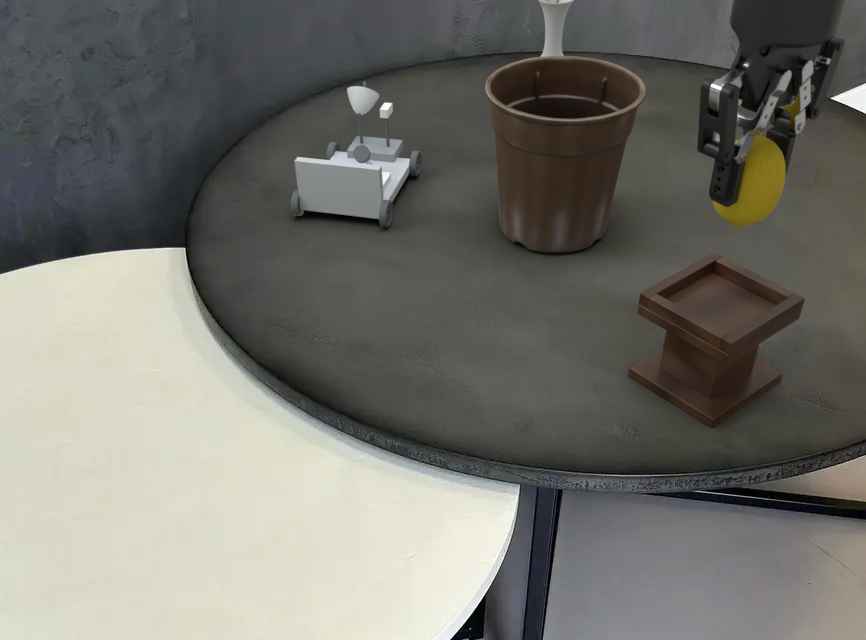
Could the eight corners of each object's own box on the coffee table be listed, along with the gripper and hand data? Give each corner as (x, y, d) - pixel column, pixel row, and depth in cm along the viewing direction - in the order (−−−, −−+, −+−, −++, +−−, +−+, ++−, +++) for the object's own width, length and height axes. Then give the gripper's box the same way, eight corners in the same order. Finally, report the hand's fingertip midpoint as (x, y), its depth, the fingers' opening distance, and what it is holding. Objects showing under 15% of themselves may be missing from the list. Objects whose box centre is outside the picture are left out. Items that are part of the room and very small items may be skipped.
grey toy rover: (334, 74, 120) (426, 81, 118) (341, 151, 127) (428, 160, 125) (281, 139, 108) (381, 150, 106) (292, 220, 115) (386, 232, 113)
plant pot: (598, 184, 119) (613, 46, 107) (648, 253, 108) (670, 107, 96) (467, 202, 117) (468, 63, 105) (504, 274, 106) (510, 128, 94)
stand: (780, 381, 92) (805, 297, 85) (711, 428, 88) (731, 343, 81) (696, 334, 98) (713, 251, 91) (627, 375, 93) (640, 292, 87)
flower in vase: (498, 91, 138) (504, -114, 120) (577, 82, 140) (594, -122, 122) (522, 131, 129) (532, -83, 111) (606, 122, 131) (629, -92, 113)
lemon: (691, 218, 83) (708, 125, 77) (750, 206, 84) (771, 113, 78) (724, 250, 79) (745, 155, 73) (786, 238, 80) (810, 143, 74)
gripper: (778, -2, 62) (726, 239, 74) (908, -55, 68) (841, 176, 80) (685, -31, 66) (650, 202, 78) (815, -78, 72) (764, 145, 84)
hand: (747, 188), depth 79 cm, fingers closed on lemon, 5 cm apart
